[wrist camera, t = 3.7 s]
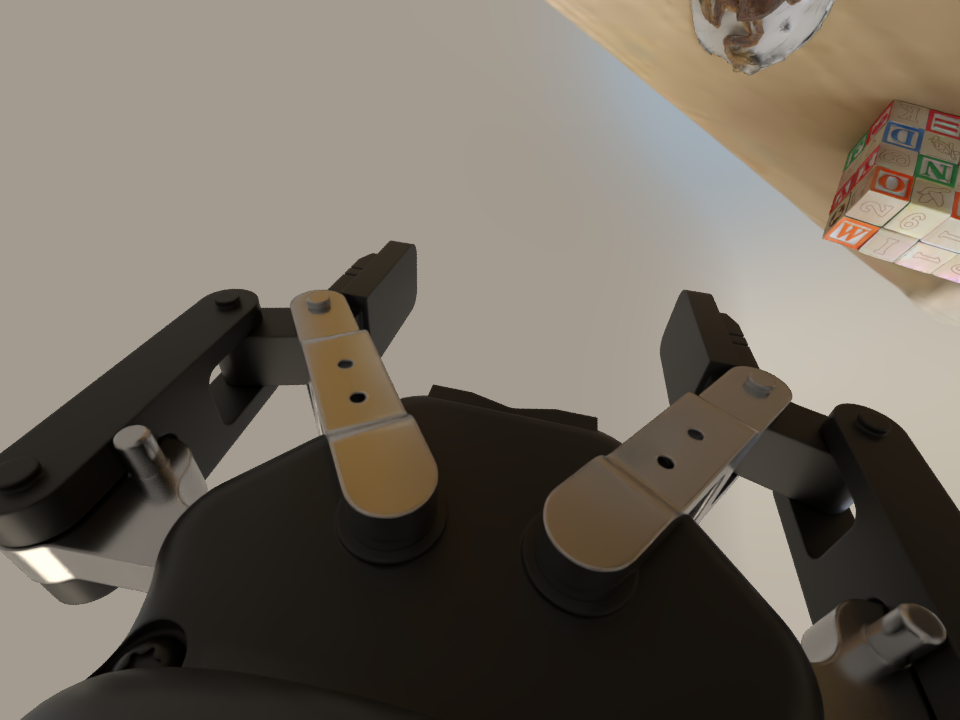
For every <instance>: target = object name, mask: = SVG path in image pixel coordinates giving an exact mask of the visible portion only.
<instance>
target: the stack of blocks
mask: <svg viewBox="0 0 960 720" xmlns="http://www.w3.org/2000/svg"><path fill="white" fill-rule="evenodd" d="M822 238H823V239H825V240H828V241H832V242H835V243H838V244H841V245H843V246H847V247H850V248H853V249H857V250H858V252H860V253H864V254H866V255H869V256H873V257H876V258H879V259H882V260H886V261H889V262H893V261H894V263H896V264H898V265H901V266H905V267H908V268H911V269H914V270H918V271H921V272H924V273H931V274H933V275H935V276H938V277H941V278H944V279H948V280H951V281H954V282H957V283H960V117H957V116H954V115H950V114H946V113H942V112H939V111H935V110H929V109H927V108H924V107H921V106H917V105H913V104H909V103H905V102H901V101H897V100H894V101H893V102H892V103H891V104H890V105H889V106H888V107H887V108H886V110H885V111H884V112H883V113H882V114H881V116H880V117H879V118H878V119H877V120H876V122H875V123H874V124H873V125H872V126H871V128H870V130H869V131H868V132H867V133H866V134H865V135H864V137H863V138H862V139H861V140H860V141H859V142H858V144H857V145H856V146H855V147H854V148H853V149H852V151H851V152H850V153H849V155H848V157H847V160H846V163H845V167H844V170H843V174H842V177H841V180H840V183H839V186H838V189H837V192H836V195H835V197H834V200H833V204H832V206H831V210H830V213H829V219H828V222H827V225H826V228H825V231H824V234H823V237H822Z"/></svg>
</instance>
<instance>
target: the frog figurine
mask: <svg viewBox="0 0 960 720" xmlns="http://www.w3.org/2000/svg"><path fill="white" fill-rule="evenodd" d="M833 1H834V0H691V10H692V14H693V22H694V29H695V31H696V35H697V37H698V41H699V43H700V45H702V47H703V48H704V49H705V51H706V52H707V53H709V54H711V55H712V53H715V54H717V55H718V56H720V57H722V58H724V59H725V60H726V61H727V63H730V64H732V65H733V72H744V73H745V74H747V75H753V74H754V73H756V72H758V71H759V70H762V69H765V68H767V67H769V66H770V65H773V64H775V63H778V62H781V61H783V60H785V58H786V57H787V56H788V55H790V54H791V53H792V52H794V51H795V50H797V49H798V48H800V47H802V46H803V45H804V44H805V43H806V42H807V41H808V40H809V39H811V38H812V36H813V35H814V34H815V33H816V32H817V31H818V30H819V29H820V27H821V25H822V22H823V20H824V19H825V18H826V17H827V16H828V14H829V12H830V10H831V7H832V4H833Z"/></svg>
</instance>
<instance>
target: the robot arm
mask: <svg viewBox="0 0 960 720" xmlns="http://www.w3.org/2000/svg"><path fill="white" fill-rule="evenodd" d="M416 253H417V252H416V247H415V245H414V244H408V243H402V242H396V241H389V242H388V243H387V244H386V246H385V247H384V248H383V249H382V250H381V251H380V252H379V253H378V254H375V253H372V254H369V255H367V256H365V257H362V258H360V259H359V260H358V261H357V262H356V263H355V264H354V265H353V266H352V267H351V268H350V269H348V270H347V271H346V272H345V275H342V276H341V277H340V278H339V279H338V280H337V281H336V282H335V283H334V284H333V285H332V286H331V287H330V288H329V289H328V290H314V291H308V292H305V293H302V294H300V295H298V296H297V297H295V298H294V299H293V300H292V301H291V303H290V308H261V307H260V304H259V300H258V296H257V295H256V294H255V293H253V292H251V291H248V290H244V289H228V290H222V291H218V292H214V293H212V294H209V295H207V296H206V297H204V298H202V299H201V300H200V301H198V302H197V303H196V304H195V305H193V306H192V307H191V308H190V309H188V310H187V311H185V312H184V313H183V314H182V315H180V316H179V317H178V318H177V319H175V320H174V321H172V322H171V323H170V324H169V325H167V326H166V327H165V328H163V329H162V330H161V331H160V332H158V333H157V334H155V335H154V336H153V337H152V338H150V339H149V340H148V341H146V342H145V343H144V344H142V345H141V346H140V347H139V348H137V349H136V350H135V351H133V352H132V353H131V354H130V355H128V356H127V357H126V358H124V359H123V360H122V361H120V362H119V363H118V364H116V365H115V366H114V367H113V368H111V369H110V370H109V371H107V372H106V373H105V374H103V375H102V376H101V377H99V378H98V379H97V380H96V381H94V382H93V383H92V384H90V385H89V386H88V387H87V388H85V389H84V390H83V391H81V392H80V393H79V394H78V395H76V396H75V397H74V398H72V399H71V400H70V401H68V402H67V403H66V404H64V405H63V406H62V407H60V408H59V409H58V410H57V411H55V412H54V413H53V414H51V415H50V416H49V417H48V418H46V419H45V420H43V421H42V422H41V423H40V424H38V425H37V426H36V427H34V428H33V429H32V430H31V431H29V432H28V433H27V434H25V435H24V436H23V437H21V438H20V439H19V440H17V441H16V442H15V443H13V444H12V445H11V446H10V447H8V448H7V449H6V450H4V451H3V452H2V453H0V551H1V552H2V553H3V554H4V555H5V556H6V557H7V558H8V559H9V560H11V561H12V562H13V563H14V564H15V565H16V566H17V567H18V568H19V569H20V570H21V571H23V572H24V573H25V574H26V575H27V576H28V577H29V578H31V580H33V581H35V582H38V583H40V584H41V585H42V586H43V587H45V588H46V589H47V590H48V591H49V592H50V593H51V594H52V595H53V596H54V597H55V598H56V599H58V600H59V601H60V602H62V603H65V604H69V605H79V604H85V603H89V602H92V601H95V600H98V599H100V598H102V597H104V596H106V595H108V594H109V593H111V592H112V591H114V590H115V589H117V588H118V587H121V588H127V589H131V590H136V591H141V592H146V593H147V596H146V599H145V601H144V603H143V606H142V608H141V610H140V613H139V615H138V617H137V619H136V621H135V623H134V624H133V626H132V628H131V630H130V632H129V634H128V635H127V637H126V638H125V640H124V641H123V642H122V644H121V645H120V646H119V647H118V649H117V650H116V651H115V652H114V653H113V654H112V655H111V657H110V658H109V659H108V660H107V661H106V662H105V663H104V664H103V665H102V666H101V667H100V668H98V669H97V670H96V671H95V672H94V673H93V674H92V675H90V676H89V677H88V678H87V679H86V680H84V681H82V682H80V683H77V684H75V685H73V686H71V687H69V688H67V689H65V690H62V691H61V692H59V693H57V694H56V695H54V696H52V697H50V698H49V699H47V700H45V701H44V702H42V703H41V704H40V705H38V706H37V707H36V708H34V709H33V710H32V711H30V712H29V713H28V714H27V715H25V716H24V717H23V718H22V719H21V720H960V511H959V510H958V508H957V507H956V505H955V504H954V502H953V501H952V499H951V498H950V496H949V495H948V494H947V492H946V491H945V489H944V488H943V486H942V485H941V483H940V482H939V480H938V479H937V478H936V476H935V474H934V473H933V471H932V470H931V469H930V467H929V466H928V464H927V463H926V462H925V460H924V458H923V457H922V455H921V454H920V452H919V451H918V450H917V448H916V447H915V445H914V444H913V442H912V441H911V439H910V438H909V436H908V435H907V433H906V432H905V431H904V430H903V429H902V428H901V427H900V426H899V425H898V424H897V423H896V422H894V421H893V420H891V419H890V418H888V417H887V416H885V415H883V414H881V413H879V412H877V411H875V410H873V409H870V408H867V407H865V406H861V405H856V404H848V403H847V404H840V405H838V406H836V407H835V408H834V410H833V411H832V412H831V414H830V415H829V416H826V415H823V414H820V413H818V412H815V411H812V410H809V409H807V408H804V407H801V406H799V405H796V404H794V403H792V402H790V401H791V400H792V393H791V390H790V389H789V388H788V386H787V385H786V384H785V383H784V382H783V381H781V380H780V379H779V378H777V377H776V376H774V375H772V374H770V373H768V372H766V371H763V370H761V369H759V367H758V365H757V362H756V361H755V358H754V356H753V354H752V352H751V350H750V348H749V347H748V344H747V342H746V339H745V338H743V336H744V335H743V333H742V331H741V329H740V327H739V325H738V324H737V323H736V322H735V321H734V320H733V319H732V318H730V317H729V316H728V315H727V314H724V313H720V312H719V310H718V308H717V305H716V303H715V301H714V298H713V296H712V295H711V294H707V293H701V292H695V291H689V290H683V291H682V292H681V293H680V295H679V297H678V300H677V302H676V304H675V307H674V310H673V312H672V314H671V317H670V319H669V322H668V324H667V327H666V329H665V332H664V335H663V337H662V341H661V346H660V357H661V362H662V367H663V373H664V377H665V383H666V388H667V393H668V399H669V403H670V407H668V408H667V409H666V410H665V411H663V412H662V413H661V414H659V415H658V416H657V417H656V418H654V419H653V420H652V421H651V422H649V423H648V424H647V425H646V426H644V427H643V428H642V429H641V430H639V431H638V432H637V433H635V434H634V435H633V436H632V437H630V438H629V439H628V440H627V441H625V442H624V443H623V444H622V443H621V442H619V441H617V440H616V439H614V438H613V437H611V436H609V435H607V434H605V433H603V432H600V431H598V430H597V418H596V417H591V416H585V415H581V414H576V413H571V412H566V411H561V410H556V409H515V408H510V407H507V406H504V405H502V404H499V403H497V402H495V401H492V400H489V399H487V398H485V397H482V396H480V395H477V394H475V393H472V392H467V391H462V390H458V389H453V388H448V387H442V386H438V385H433V386H432V388H431V390H430V392H429V395H428V396H412V397H406V398H402V399H400V398H399V396H398V394H397V392H396V390H395V388H394V385H393V383H392V381H391V379H390V377H389V375H388V373H387V371H386V369H385V366H384V364H383V362H382V360H381V357H382V355H383V354H384V352H385V351H386V349H387V348H388V346H389V344H390V343H391V341H392V340H393V338H394V337H395V335H396V334H397V332H398V331H399V329H400V327H401V326H402V324H403V323H404V321H405V320H406V318H407V317H408V315H409V314H410V312H411V311H412V309H413V307H414V304H415V301H416V294H417V254H416ZM218 364H219V366H220V369H221V371H222V372H221V373H220V374H219V375H218V376H217V378H216V379H215V380H214V381H213V382H212V383H211V384H210V385H209V380H210V376H211V373H212V371H213V369H214V368H215V367H216V366H217V365H218ZM304 384H306V385H307V390H308V393H309V397H310V402H311V405H312V409H313V413H314V417H315V421H316V425H317V429H318V433H319V436H318V437H316V438H314V439H312V440H310V441H308V442H306V443H304V444H302V445H300V446H298V447H296V448H294V449H292V450H290V451H287V452H285V453H283V454H281V455H279V456H277V457H275V458H273V459H271V460H269V461H267V462H265V463H263V464H261V465H259V466H257V467H255V468H253V469H251V470H249V471H247V472H245V473H243V474H240V475H238V476H236V477H234V478H232V479H230V480H228V481H226V482H224V483H222V484H220V485H219V486H217V487H215V488H213V489H211V490H210V491H208V492H207V484H206V481H205V480H206V478H207V477H208V476H209V475H210V473H211V472H212V471H213V469H214V468H215V467H216V466H217V464H218V463H219V462H220V460H221V459H222V458H223V456H224V455H225V454H226V453H227V451H228V450H229V449H230V448H231V446H232V445H233V444H234V442H235V441H236V440H237V439H238V437H239V436H240V435H241V434H242V432H243V431H244V429H245V428H246V427H247V426H248V425H249V423H250V422H251V421H252V419H253V418H254V417H255V415H256V414H257V413H258V412H259V410H260V409H261V408H262V407H263V405H264V404H265V403H266V401H267V400H268V399H269V398H270V396H271V395H272V394H273V393H274V391H275V390H276V389H277V387H278V385H304ZM739 476H741V477H744V478H746V479H748V480H750V481H753V482H755V483H757V484H759V485H761V486H764V487H766V488H768V489H771V490H773V496H774V499H775V502H776V506H777V509H778V512H779V515H780V518H781V522H782V525H783V529H784V532H785V535H786V539H787V542H788V545H789V548H790V552H791V555H792V558H793V561H794V565H795V568H796V571H797V575H798V578H799V581H800V584H801V588H802V591H803V595H804V598H805V601H806V604H807V608H808V611H809V614H810V618H811V621H812V624H813V626H812V627H810V628H809V629H808V630H806V632H805V633H804V634H803V637H802V640H801V644H800V643H799V641H798V640H797V638H796V637H795V635H794V634H793V633H792V631H791V630H790V629H789V627H788V626H787V625H786V623H785V622H784V621H783V620H782V619H781V617H780V616H779V615H778V614H777V613H776V612H775V611H774V610H773V608H772V607H771V606H770V605H769V604H768V603H767V602H766V600H765V599H764V598H763V597H762V596H761V595H760V594H759V593H758V592H757V590H756V589H755V588H754V587H753V586H752V585H751V584H750V583H749V581H748V580H747V579H746V578H745V577H744V576H743V575H742V573H741V572H740V571H739V570H738V569H737V568H736V567H735V566H734V564H733V563H732V562H731V561H730V560H729V559H728V558H727V557H726V555H725V554H724V553H723V552H722V551H721V550H720V549H719V548H718V546H717V545H716V544H715V543H714V542H713V541H712V540H711V539H710V538H709V536H708V535H707V534H706V533H705V532H704V531H703V530H702V528H701V527H700V526H699V525H698V524H699V523H700V521H701V520H702V519H703V518H704V516H705V515H706V514H707V513H708V512H709V511H710V509H711V508H712V507H713V506H714V505H715V504H716V503H717V501H718V500H719V499H720V498H721V497H722V495H724V493H725V492H726V491H727V490H728V489H729V488H730V486H731V485H732V484H733V483H734V482H735V481H736V479H737V478H738V477H739ZM853 503H854V504H855V507H856V518H855V519H854V517H853V514H852V512H851V510H850V508H849V507H850V506H851V505H852V504H853Z"/></svg>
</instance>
